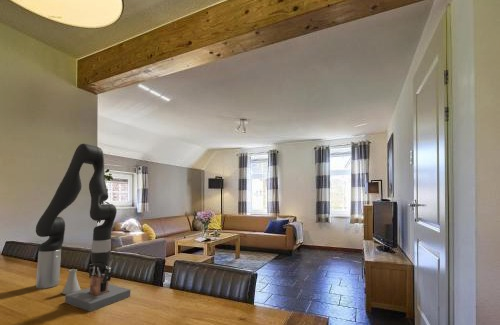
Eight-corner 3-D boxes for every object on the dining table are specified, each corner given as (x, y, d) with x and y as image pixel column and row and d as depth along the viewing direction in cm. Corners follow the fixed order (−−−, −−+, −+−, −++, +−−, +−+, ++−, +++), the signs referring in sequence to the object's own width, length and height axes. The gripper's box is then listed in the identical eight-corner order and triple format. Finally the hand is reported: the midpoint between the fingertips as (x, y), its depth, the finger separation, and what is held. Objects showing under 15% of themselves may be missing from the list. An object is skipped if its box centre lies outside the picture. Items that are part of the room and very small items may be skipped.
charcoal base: (64, 302, 118) (65, 295, 118) (105, 289, 133) (105, 282, 134) (90, 311, 109) (90, 303, 109) (130, 296, 125) (130, 289, 125)
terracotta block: (89, 295, 120) (90, 276, 121) (100, 291, 125) (101, 273, 126) (96, 297, 118) (97, 277, 119) (107, 293, 122) (108, 274, 123)
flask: (71, 295, 125) (73, 272, 126) (57, 294, 127) (59, 271, 128) (84, 290, 132) (85, 268, 133) (71, 289, 134) (72, 267, 135)
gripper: (83, 249, 123) (80, 289, 122) (103, 253, 117) (101, 296, 115) (99, 246, 130) (97, 284, 128) (119, 250, 123) (117, 290, 121)
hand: (99, 289), depth 122 cm, fingers closed on terracotta block, 5 cm apart
